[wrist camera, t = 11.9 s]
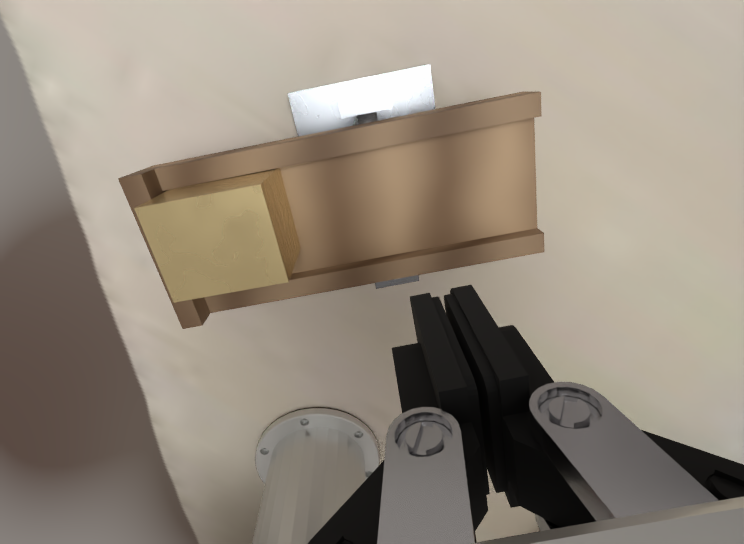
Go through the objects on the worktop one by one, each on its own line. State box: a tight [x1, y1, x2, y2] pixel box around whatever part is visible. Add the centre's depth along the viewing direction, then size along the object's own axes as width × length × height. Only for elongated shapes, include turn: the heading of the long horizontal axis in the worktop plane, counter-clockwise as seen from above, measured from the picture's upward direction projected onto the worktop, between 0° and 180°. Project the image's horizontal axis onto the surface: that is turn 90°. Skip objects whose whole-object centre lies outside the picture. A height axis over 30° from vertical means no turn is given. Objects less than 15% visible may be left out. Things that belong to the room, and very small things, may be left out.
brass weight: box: [134, 168, 301, 303], centre depth 22 cm, size 6×5×5 cm
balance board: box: [119, 92, 544, 329], centre depth 24 cm, size 22×9×4 cm, turn 101°
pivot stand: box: [288, 64, 435, 289], centre depth 29 cm, size 21×14×7 cm
